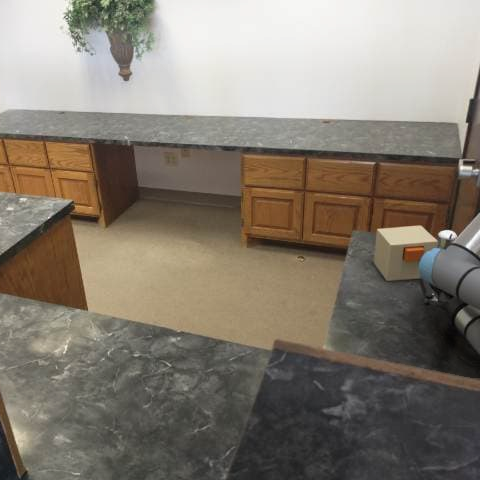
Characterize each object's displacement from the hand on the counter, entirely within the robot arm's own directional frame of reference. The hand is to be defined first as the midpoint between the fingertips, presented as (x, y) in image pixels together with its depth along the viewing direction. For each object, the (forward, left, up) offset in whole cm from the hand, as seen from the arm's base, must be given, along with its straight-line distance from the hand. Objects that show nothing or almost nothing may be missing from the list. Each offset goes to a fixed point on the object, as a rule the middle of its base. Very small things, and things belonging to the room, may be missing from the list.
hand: (421, 263), depth 129 cm
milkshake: (-8, -17, -8) cm, 20 cm away
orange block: (+2, -4, -2) cm, 5 cm away
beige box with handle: (+3, -10, -8) cm, 13 cm away
